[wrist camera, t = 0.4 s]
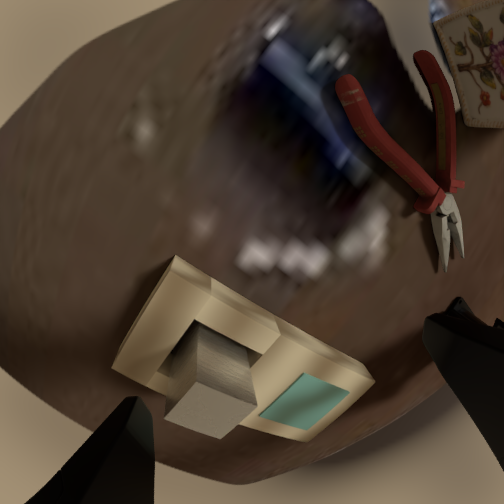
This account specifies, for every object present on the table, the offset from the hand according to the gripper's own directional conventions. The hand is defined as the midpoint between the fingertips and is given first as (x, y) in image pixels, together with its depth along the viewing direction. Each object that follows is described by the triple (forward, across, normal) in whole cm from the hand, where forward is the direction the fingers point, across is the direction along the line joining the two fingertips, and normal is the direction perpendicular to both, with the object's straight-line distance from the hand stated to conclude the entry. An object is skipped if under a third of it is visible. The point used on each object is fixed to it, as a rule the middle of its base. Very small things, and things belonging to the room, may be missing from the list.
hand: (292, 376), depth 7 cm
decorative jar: (+14, -28, -12) cm, 34 cm away
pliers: (+15, -15, -3) cm, 21 cm away
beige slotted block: (+14, +1, +11) cm, 18 cm away
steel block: (+14, +5, +8) cm, 16 cm away
